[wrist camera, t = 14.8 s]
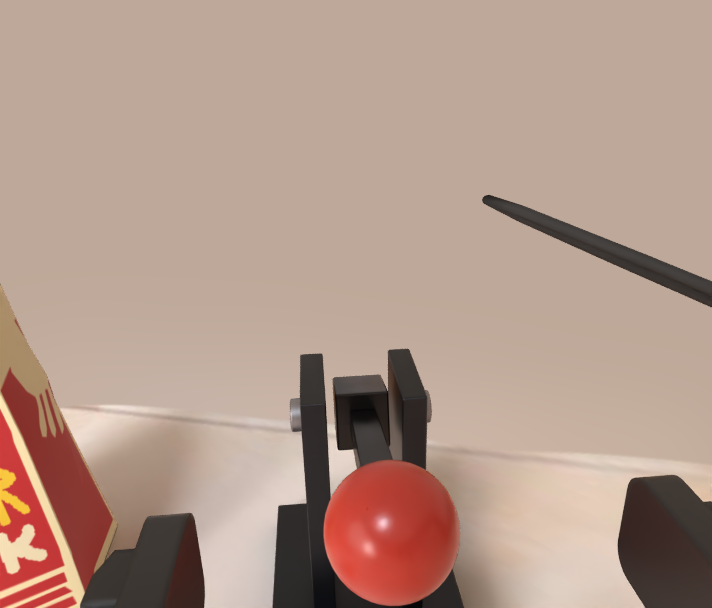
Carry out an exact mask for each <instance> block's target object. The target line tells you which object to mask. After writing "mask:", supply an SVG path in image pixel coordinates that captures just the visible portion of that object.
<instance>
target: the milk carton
mask: <svg viewBox="0 0 712 608" xmlns="http://www.w3.org/2000/svg"><path fill="white" fill-rule="evenodd" d="M117 525H118V524H117V522H116V520H115V518H114V516H113V514H112V512H111V511H110V509H109V507H108V505H107V503H106V501H105V499H104V497H103V495H102V493H101V491H100V489H99V487H98V485H97V483H96V481H95V479H94V477H93V475H92V473H91V471H90V469H89V468H88V466H87V464H86V462H85V460H84V458H83V456H82V454H81V452H80V450H79V448H78V446H77V444H76V442H75V440H74V438H73V436H72V433H71V431H70V429H69V427H68V425H67V423H66V421H65V419H64V417H63V415H62V413H61V411H60V409H59V407H58V405H57V403H56V401H55V399H54V396H53V393H52V390H51V387H50V383H49V381H48V377H47V375H46V373H45V371H44V370H43V368H42V366H41V365H40V363H39V361H38V360H37V358H36V357H35V355H34V353H33V351H32V350H31V348H30V346H29V345H28V343H27V341H26V338H25V336H24V334H23V332H22V330H21V328H20V325H19V323H18V321H17V319H16V317H15V315H14V312H13V310H12V309H11V306H10V304H9V302H8V299H7V297H6V295H5V293H4V291H3V289H2V287H1V284H0V608H80V603H81V601H82V598H83V596H84V594H85V591H86V589H87V587H88V584H89V582H90V579H91V577H92V575H93V574H94V573H95V572H96V571H97V570H98V569H99V567H100V566H101V565H102V564H103V563H104V561H105V558H106V555H107V553H108V550H109V547H110V544H111V542H112V539H113V536H114V534H115V531H116V528H117Z"/></svg>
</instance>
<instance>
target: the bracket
mask: <svg viewBox="0 0 712 608" xmlns="http://www.w3.org/2000/svg"><path fill="white" fill-rule="evenodd" d="M388 393H389V420H390V446H389V449H390V452H391V455H392V458H393V460H400V461H405V462H409V463H412V464H415V465H417V466H419V467H421V468H423V469H425V470H426V443H427V423H428V422H430V421H431V415H432V414H431V413H432V410H431V400H430V395H429V393H428V391H427V390H424V387H423V385H422V382H421V380H420V377H419V374H418V372H417V369H416V366H415V364H414V361H413V358H412V356H411V353H410V350H409V349H395V350H389V351H388ZM290 421H291V430H292V432H297V431H302V443H303V457H304V472H305V486H306V500H307V503H306V504H293V505H280V506H279V507H278V522H277V539H276V556H275V574H274V591H273V608H464V606H463V603H462V600H461V596H460V593H459V590H458V586H457V583H456V580H455V576H454V573H453V570H451V572H450V573H449V575H448V577H447V578H446V579H445V581H444V582H443V583H442V584H441V585H440V586H439V587H438V588H437V589H436V590H435V591H434V592H433V593H431V594H430V595H429V596H427V597H425V598H423V599H421V600H419V601H417V602H414V603H411V604H407V605H402V606H385V605H379V604H375V603H372V602H370V601H368V600H365V599H363V598H361V597H359V596H358V595H356V594H355V593H354V592H352V591H351V590H350V589H349V588H348V587H347V586H346V585H345V584H344V583H343V582H342V581H341V580H340V579H339V577H338V576H337V574H336V573H335V571H334V569H333V568H332V565H331V563H330V561H329V558H328V556H327V552H326V549H325V542H324V520H325V514H326V511H327V507H328V504H329V502H330V500H331V497H330V477H329V457H328V438H327V419H326V401H325V386H324V370H323V356H322V354H305V355H301V356H300V398H296V399H291V400H290Z"/></svg>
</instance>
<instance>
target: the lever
mask: <svg viewBox="0 0 712 608" xmlns="http://www.w3.org/2000/svg"><path fill="white" fill-rule="evenodd" d="M333 395H334V414H335V430H336V439H337V447H338V450H351V449H353V450H354V455H355V461H356V466H357V470H355V471H354V472H352V473H351V474H350V475H349V476H347V477H346V478H345V479H344V480H343V481H342V483H341V484H340V485H339V486H338V488H337V489H336V491H335V492H334V494H333V495H332V497H331V500H330V502H329V504H328V507H327V511H326V514H325V520H324V542H325V549H326V552H327V556H328V558H329V561H330V563H331V565H332V568H333V569H334V571H335V573H336V574H337V576H338V577H339V579H340V580H341V581H342V582H343V583H344V584H345V585H346V586H347V587H348V588H349V589H350V590H351V591H352V592H354V593H355V594H356V595H358V596H359V597H361V598H363V599H365V600H368V601H370V602H372V603H375V604H379V605H385V606H402V605H407V604H411V603H414V602H417V601H419V600H421V599H423V598H425V597H427V596H429V595H430V594H431V593H433V592H434V591H435V590H436V589H437V588H438V587H439V586H440V585H441V584H442V583H443V582H444V581H445V579H446V578H447V577H448V575H449V573H450V572H451V570H452V568H453V566H454V563H455V561H456V558H457V555H458V550H459V544H460V526H459V519H458V514H457V511H456V508H455V506H454V503H453V501H452V499H451V497H450V495H449V493H448V492H447V490H446V489H445V488H444V486H443V485H442V484H441V483H440V482H439V481H438V480H437V479H436V478H435V477H434V476H433V475H432V474H430V473H429V472H428V471H426V470H425V469H423V468H421V467H419V466H417V465H415V464H412V463H409V462H405V461H400V460H393V458H392V455H391V452H390V449H389V446H390V420H389V393H388V391H387V389H386V386H385V384H384V382H383V380H382V378H381V375H366V376H350V377H335V378H333Z"/></svg>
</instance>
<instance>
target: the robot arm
mask: <svg viewBox="0 0 712 608" xmlns="http://www.w3.org/2000/svg"><path fill="white" fill-rule="evenodd" d="M482 201H483V203H484V204H486V205H488V206H490V207H491V208H493V209H495V210H497V211H499V212H501V213H503V214H505V215H507V216H509V217H511V218H513V219H515V220H516V221H519V222H521V223H523V224H525V225H528V226H530V227H532V228H534V229H537V230H539V231H541V232H543V233H545V234H547V235H550V236H552V237H554V238H556V239H559V240H561V241H563V242H565V243H567V244H570V245H572V246H574V247H576V248H578V249H581V250H583V251H585V252H588V253H590V254H592V255H594V256H596V257H598V258H601V259H603V260H605V261H607V262H610V263H612V264H614V265H617V266H619V267H621V268H623V269H626V270H628V271H630V272H632V273H635V274H637V275H639V276H642V277H644V278H646V279H648V280H651V281H653V282H655V283H657V284H660V285H662V286H664V287H667V288H669V289H671V290H673V291H676V292H678V293H680V294H683V295H685V296H687V297H689V298H692V299H694V300H696V301H698V302H701V303H703V304H705V305H708V306H710V307H712V281H710V280H707V279H704V278H702V277H699V276H697V275H695V274H692V273H689V272H687V271H685V270H683V269H680V268H677V267H675V266H673V265H670V264H668V263H665V262H663V261H660V260H658V259H656V258H653V257H651V256H648V255H646V254H643V253H641V252H638V251H635V250H633V249H630V248H628V247H626V246H623V245H621V244H618V243H615V242H613V241H610V240H608V239H605V238H603V237H600V236H598V235H595V234H593V233H590V232H588V231H585V230H583V229H580V228H578V227H575V226H573V225H570V224H568V223H565V222H563V221H560V220H557V219H555V218H552V217H550V216H548V215H545V214H542V213H540V212H537V211H535V210H532V209H530V208H527V207H525V206H522V205H519V204H516V203H513V202H510V201H507V200H504V199H500V198H497V197H494V196H491V195H486V196H484V197H483V199H482ZM618 554H619V559H620V563H621V567H622V569H623V572H624V574H625V576H626V578H627V579H628V581H629V583H630V584H631V586H632V587H633V589H634V591H635V592H636V594H637V595H638V597H639V598H640V600H641V601H642V603H643V605H644V606H645V608H712V502H711V501H710V502H703V501H702V500H701V499H700V498H699V497H698V496H697V495H696V494H695V493H694V492H693V490H692V489H691V488H690V487H689V486H688V485H687V484H686V483H685V482H684V481H683V480H682V479H681V478H680V477H678V476H676V475H665V476H652V477H639V478H633V479H632V480H631V481H630V482H629V485H628V488H627V493H626V499H625V505H624V510H623V516H622V521H621V527H620V532H619V538H618ZM204 600H205V586H204V575H203V569H202V562H201V556H200V550H199V544H198V537H197V531H196V525H195V520H194V516H193V514H192V513H184V514H171V515H158V516H149V517H147V519H146V520H145V522H144V525H143V528H142V531H141V533H140V536H139V539H138V542H137V545H136V548H135V549H125V550H115V551H114V552H113V553H112V554H111V555H110V556H109V557H108V559H107V560H106V561H105V562H104V563H103V564H102V565H101V566H100V567H99V569H98V570H97V571H96V572H95V573H94V574H93V575H92V577H91V579H90V582H89V584H88V587H87V589H86V591H85V594H84V596H83V598H82V601H81V603H80V608H204Z"/></svg>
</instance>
